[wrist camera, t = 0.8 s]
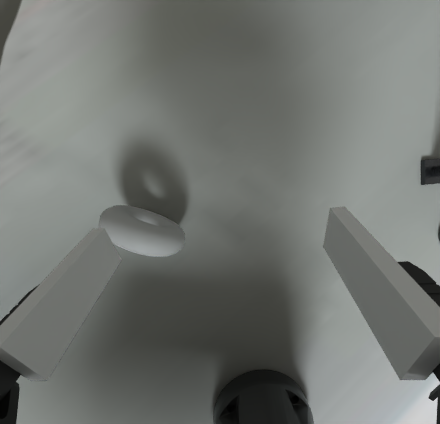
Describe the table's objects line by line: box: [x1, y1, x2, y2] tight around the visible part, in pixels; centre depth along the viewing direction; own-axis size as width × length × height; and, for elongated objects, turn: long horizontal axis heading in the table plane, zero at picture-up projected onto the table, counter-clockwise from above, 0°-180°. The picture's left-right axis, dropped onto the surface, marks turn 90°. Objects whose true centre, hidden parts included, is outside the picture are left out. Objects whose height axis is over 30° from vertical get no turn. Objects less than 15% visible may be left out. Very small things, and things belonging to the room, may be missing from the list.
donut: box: [99, 205, 185, 257], centre depth 24 cm, size 10×4×10 cm, turn 67°
